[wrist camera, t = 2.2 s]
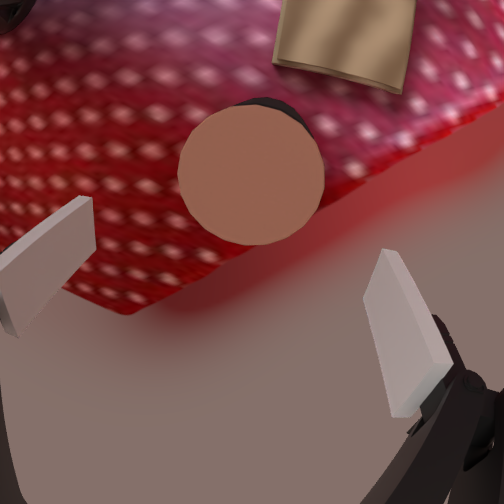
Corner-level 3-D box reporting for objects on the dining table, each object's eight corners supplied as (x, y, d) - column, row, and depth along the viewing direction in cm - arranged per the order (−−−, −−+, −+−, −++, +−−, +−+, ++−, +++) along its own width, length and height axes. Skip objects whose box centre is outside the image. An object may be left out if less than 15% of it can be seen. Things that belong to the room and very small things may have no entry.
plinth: (272, 64, 33) (271, 61, 30) (291, -40, 26) (291, -52, 22) (392, 93, 33) (403, 94, 30) (409, -9, 26) (420, -16, 22)
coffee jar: (205, 125, 38) (149, 156, 22) (279, 81, 34) (276, 75, 19) (250, 194, 42) (227, 267, 26) (323, 155, 38) (350, 207, 23)
